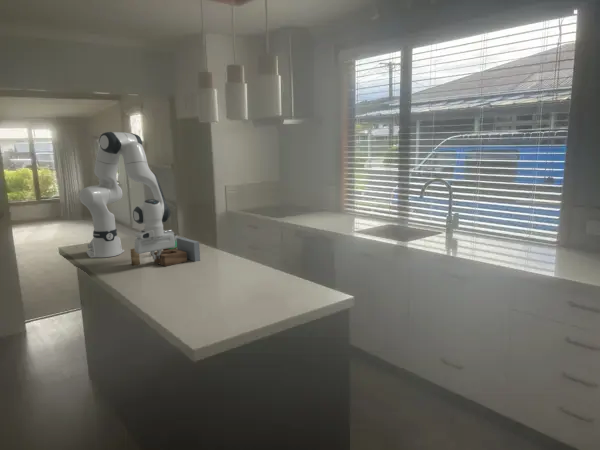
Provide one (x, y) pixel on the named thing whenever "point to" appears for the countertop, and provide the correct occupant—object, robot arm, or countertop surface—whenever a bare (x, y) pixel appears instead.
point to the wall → (189, 248)
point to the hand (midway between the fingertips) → (156, 259)
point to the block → (171, 257)
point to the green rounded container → (175, 242)
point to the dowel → (135, 258)
